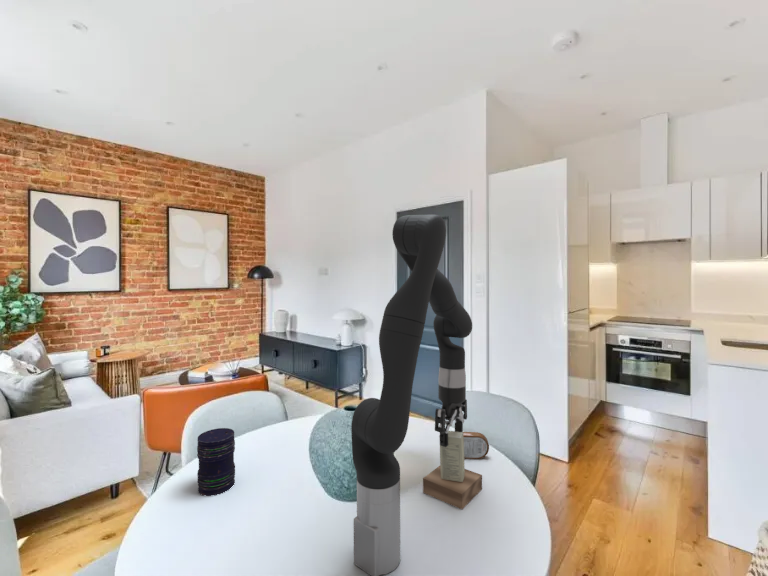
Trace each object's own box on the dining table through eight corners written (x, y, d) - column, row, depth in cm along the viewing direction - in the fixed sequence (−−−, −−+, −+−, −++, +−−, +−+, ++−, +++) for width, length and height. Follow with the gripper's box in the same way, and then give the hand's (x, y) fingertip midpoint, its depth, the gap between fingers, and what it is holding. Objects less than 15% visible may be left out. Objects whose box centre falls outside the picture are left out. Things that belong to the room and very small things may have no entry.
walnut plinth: (462, 509, 92) (462, 494, 92) (423, 492, 100) (423, 478, 100) (482, 489, 101) (482, 474, 101) (444, 474, 109) (444, 461, 109)
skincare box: (465, 475, 101) (464, 432, 101) (462, 483, 97) (462, 438, 97) (442, 471, 104) (442, 429, 103) (439, 478, 99) (439, 435, 99)
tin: (487, 456, 121) (487, 431, 121) (490, 460, 118) (490, 435, 118) (443, 454, 122) (442, 430, 122) (443, 459, 119) (443, 434, 119)
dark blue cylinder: (202, 500, 97) (201, 445, 96) (193, 485, 104) (193, 434, 104) (240, 487, 103) (239, 435, 103) (229, 473, 111) (229, 425, 110)
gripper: (451, 391, 93) (451, 453, 93) (475, 380, 104) (475, 436, 104) (427, 386, 97) (426, 445, 97) (452, 376, 108) (451, 429, 108)
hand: (451, 440), depth 101 cm, fingers open, 8 cm apart
